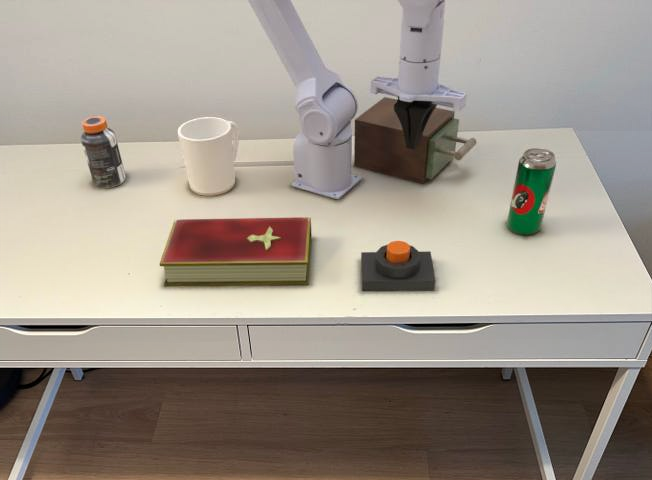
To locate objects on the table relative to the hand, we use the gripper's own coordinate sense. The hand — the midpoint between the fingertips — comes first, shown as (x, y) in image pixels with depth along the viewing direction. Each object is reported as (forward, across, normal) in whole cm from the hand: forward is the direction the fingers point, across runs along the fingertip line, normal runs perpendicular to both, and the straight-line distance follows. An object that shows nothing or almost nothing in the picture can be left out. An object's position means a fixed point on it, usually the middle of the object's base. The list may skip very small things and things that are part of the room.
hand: (412, 146), depth 103 cm
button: (+6, +8, -19) cm, 22 cm away
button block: (+9, +8, -20) cm, 23 cm away
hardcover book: (+10, -14, -28) cm, 33 cm away
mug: (+10, -32, -11) cm, 35 cm away
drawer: (+9, -3, +11) cm, 14 cm away
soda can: (+10, +19, +1) cm, 21 cm away
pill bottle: (+10, -50, -20) cm, 55 cm away
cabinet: (+9, -7, +11) cm, 16 cm away
